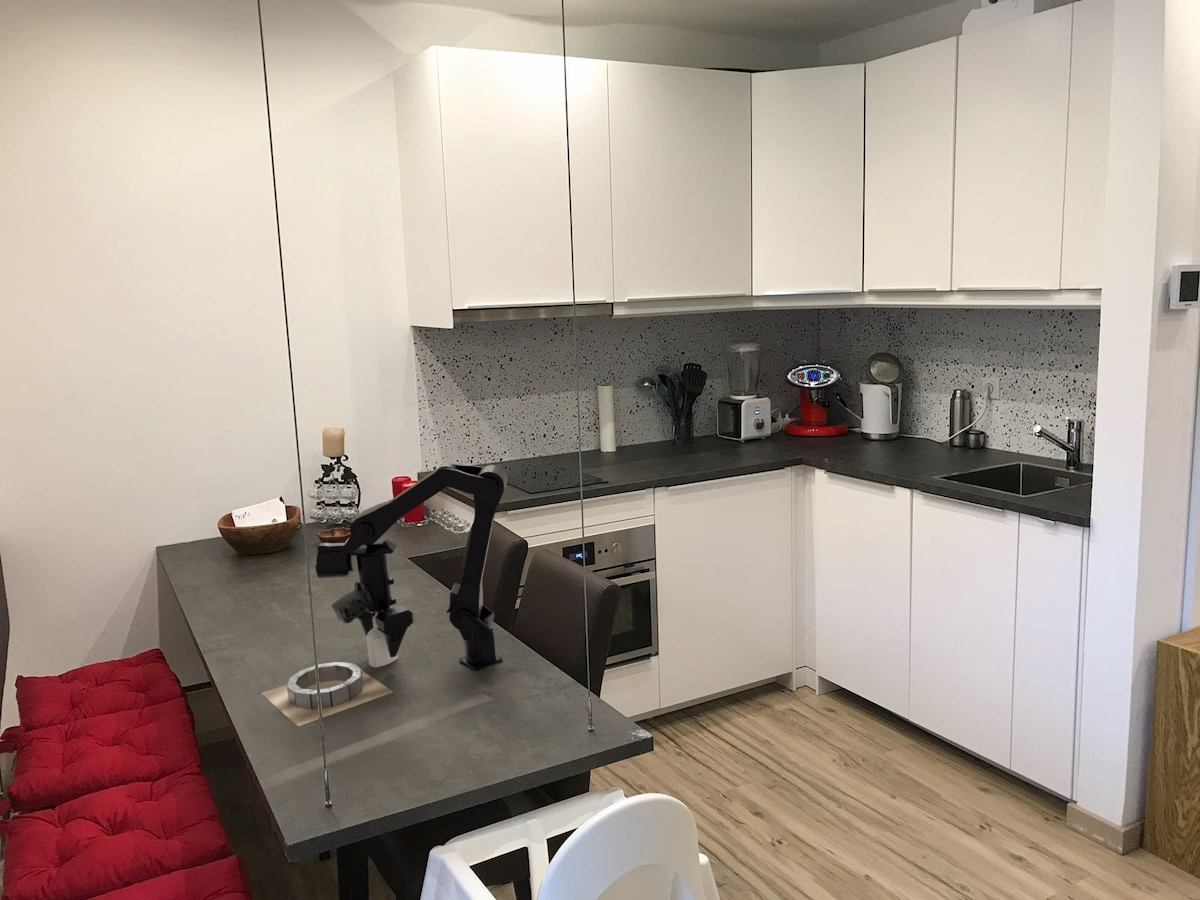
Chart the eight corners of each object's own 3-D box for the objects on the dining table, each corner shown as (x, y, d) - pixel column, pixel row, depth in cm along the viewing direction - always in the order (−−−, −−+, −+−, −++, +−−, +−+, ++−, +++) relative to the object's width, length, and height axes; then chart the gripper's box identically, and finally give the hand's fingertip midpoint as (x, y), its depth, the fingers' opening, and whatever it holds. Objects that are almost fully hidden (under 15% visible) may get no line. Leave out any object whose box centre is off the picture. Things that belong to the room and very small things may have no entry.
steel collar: (374, 691, 173) (372, 676, 172) (306, 716, 165) (304, 700, 164) (344, 670, 183) (343, 656, 182) (279, 693, 175) (277, 678, 174)
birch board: (394, 697, 173) (393, 691, 172) (299, 732, 162) (298, 726, 161) (352, 668, 186) (351, 663, 186) (261, 699, 175) (260, 693, 175)
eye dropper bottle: (400, 668, 185) (393, 610, 183) (371, 674, 183) (364, 616, 181) (397, 660, 189) (390, 603, 187) (368, 665, 188) (362, 608, 185)
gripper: (315, 574, 185) (324, 649, 188) (355, 597, 170) (365, 677, 174) (367, 561, 192) (375, 633, 195) (411, 581, 177) (419, 659, 180)
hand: (382, 650), depth 186 cm, fingers open, 9 cm apart
